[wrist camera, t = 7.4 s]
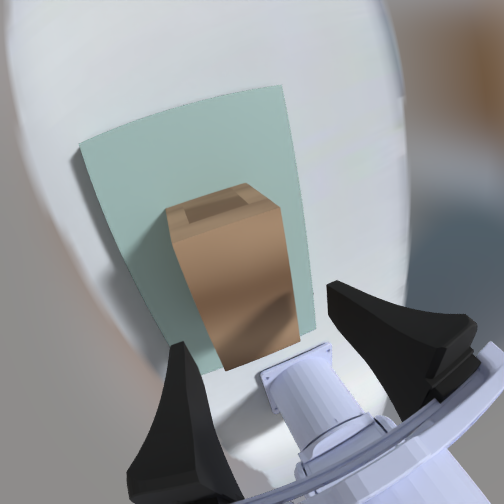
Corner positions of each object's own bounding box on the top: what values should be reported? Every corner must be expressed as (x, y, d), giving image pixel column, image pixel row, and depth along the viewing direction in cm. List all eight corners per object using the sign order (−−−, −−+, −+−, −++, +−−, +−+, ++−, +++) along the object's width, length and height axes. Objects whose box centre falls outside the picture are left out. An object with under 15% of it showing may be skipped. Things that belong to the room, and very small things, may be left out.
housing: (270, 297, 22) (300, 341, 17) (207, 321, 21) (225, 371, 16) (245, 182, 17) (280, 207, 13) (165, 208, 16) (171, 243, 12)
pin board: (310, 322, 26) (329, 346, 23) (188, 370, 24) (195, 401, 21) (274, 86, 16) (301, 81, 13) (82, 142, 14) (66, 148, 11)
